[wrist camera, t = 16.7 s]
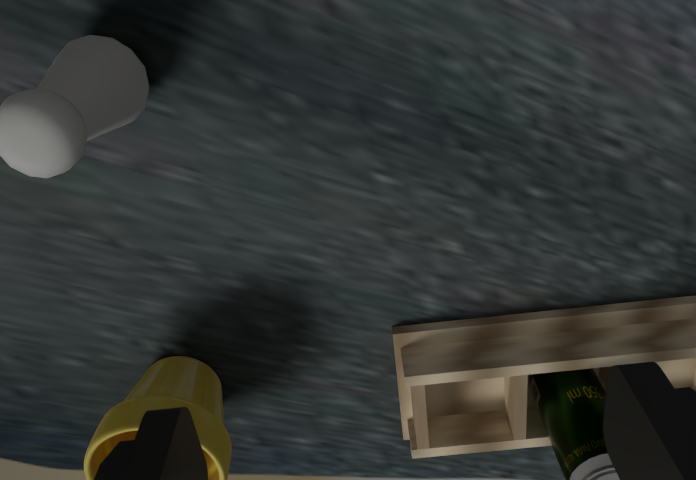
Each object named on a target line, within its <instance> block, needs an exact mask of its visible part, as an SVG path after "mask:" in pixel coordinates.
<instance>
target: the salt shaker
mask: <svg viewBox="0 0 696 480" xmlns="http://www.w3.org/2000/svg"><path fill="white" fill-rule="evenodd" d="M148 91H149V83H148V78H147V74H146V69H145V66H144V65H143V64H142V63H141V61H140V60H139V59H138V57H137V56H136V55H135V54H134V52H133V51H132V50H131V49H130V48H128V47H127V46H125V45H123V44H122V43H120V42H119V41H117V40H115V39H114V38H112V37H103V36H95V35H88V36H85V37H82V38H79V39H76V40H73V41H70V42H68V43H67V45H66V46H65V47H64V48H63V49H62V51H61V52H60V53H59V54H58V56H57V57H56V58H55V60H54V62H53V63H52V65H51V66H50V68H49V70H48V71H47V73H46V75H45V76H44V78H43V79H42V81H41V82H40V83H39V85H38V86H37V88H36V89H28V90H25V91H22V92H19V93H16V94H13V95H11V96H9V97H7V98H6V99H5V101H4V102H3V103H2V104H1V106H0V156H1V157H2V158H3V159H4V160H5V161H6V162H7V163H8V165H9V166H10V167H12V168H14V169H16V170H18V171H20V172H22V173H24V174H26V175H28V176H34V177H41V178H50V177H52V176H55V175H58V174H61V173H64V172H66V171H68V170H70V169H71V168H72V167H73V166H74V164H75V163H76V162H77V161H78V160H79V159H80V158H81V157H82V155H83V154H84V153H85V148H86V142H87V141H88V140H90V139H92V138H95V137H97V136H99V135H102V134H104V133H106V132H109V131H111V130H114V129H116V128H119V127H121V126H124V125H126V124H129V123H131V122H132V121H133V120H134V119H135V118H136V117H137V116H138V115H139V114H140V113H141V112H142V111H143V110H144V109H145V106H146V101H147V96H148Z"/></svg>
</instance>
